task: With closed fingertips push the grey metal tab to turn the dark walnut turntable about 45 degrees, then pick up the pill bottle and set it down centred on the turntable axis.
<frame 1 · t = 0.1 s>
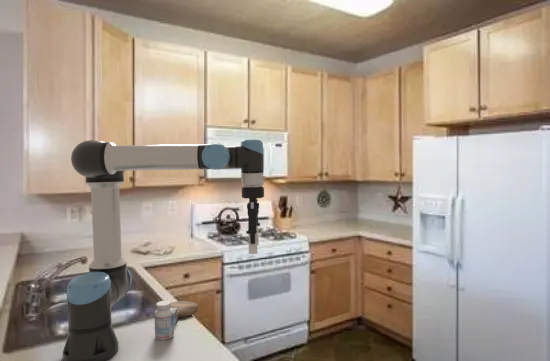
hand: (254, 249, 128), 28 cm above the worktop, fingers open, 13 cm apart
pill bottle: (164, 336, 126), on the worktop
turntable: (177, 308, 144), point 2 cm above the worktop, hinge at 0.0°
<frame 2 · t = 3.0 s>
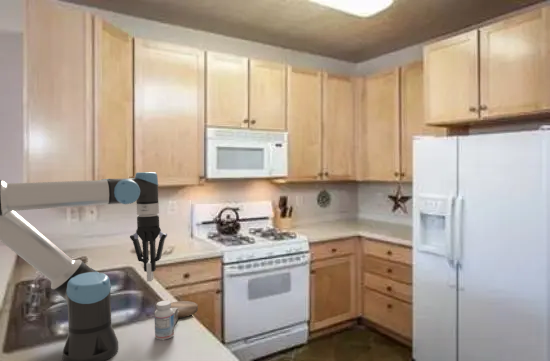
hand: (150, 280, 137), 15 cm above the worktop, fingers closed
nothing on the worktop moved.
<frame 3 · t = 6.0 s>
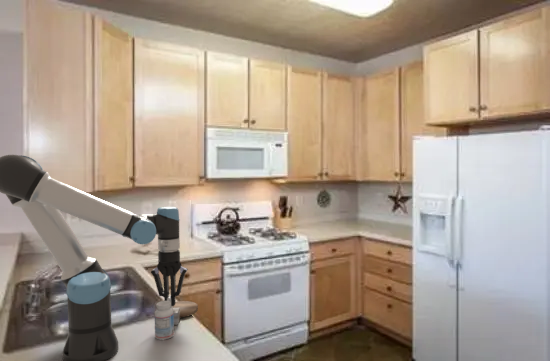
hand: (170, 314, 137), 3 cm above the worktop, fingers closed
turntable: (178, 308, 144), point 2 cm above the worktop, hinge at 5.6°, touching gripper
everything else where it was.
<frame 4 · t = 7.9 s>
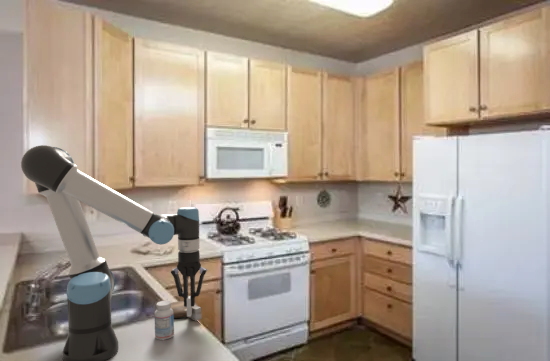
hand: (189, 315, 137), 2 cm above the worktop, fingers closed
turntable: (183, 307, 145), point 2 cm above the worktop, hinge at 46.0°, touching gripper
everything else where it was.
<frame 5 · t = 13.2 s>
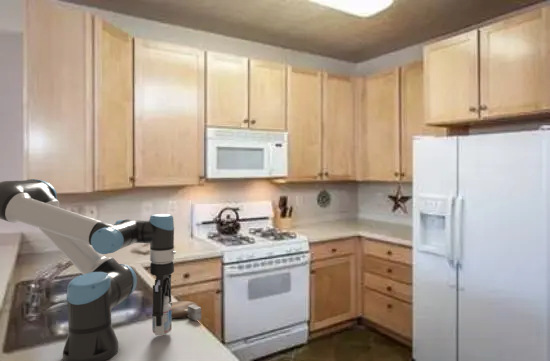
hand: (162, 330, 126), 2 cm above the worktop, fingers closed on pill bottle, 6 cm apart
pill bottle: (162, 331, 126), point 1 cm above the worktop, touching gripper
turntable: (183, 307, 145), point 2 cm above the worktop, hinge at 46.1°
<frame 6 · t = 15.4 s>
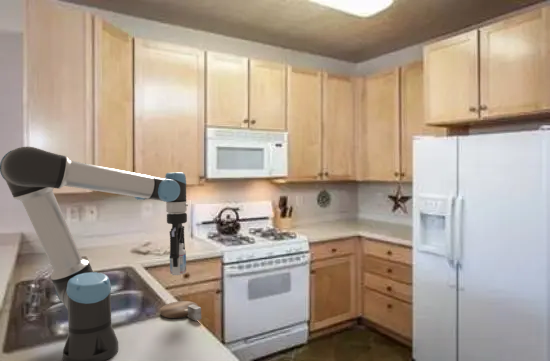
hand: (178, 272, 146), 16 cm above the worktop, fingers closed on pill bottle, 6 cm apart
pill bottle: (178, 273, 146), point 15 cm above the worktop, touching gripper
everything else where it was.
when the fingers open (4 cm above the worktop, at t = 17.8 s): pill bottle drops 1 cm, resting on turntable.
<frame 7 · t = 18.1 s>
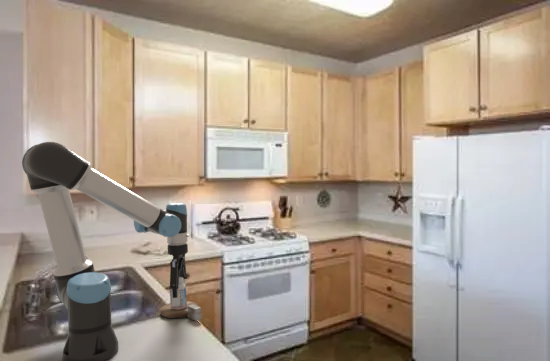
hand: (179, 300, 147), 4 cm above the worktop, fingers open, 10 cm apart
pill bottle: (178, 307, 147), point 2 cm above the worktop, touching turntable
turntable: (183, 307, 145), point 2 cm above the worktop, hinge at 46.1°, touching pill bottle
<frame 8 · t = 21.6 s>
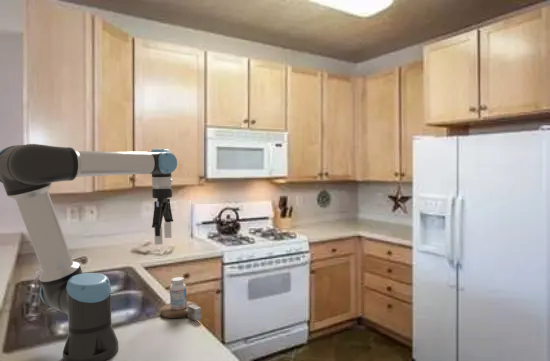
hand: (163, 240, 152), 27 cm above the worktop, fingers open, 13 cm apart
nothing on the worktop moved.
at the end: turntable at +46° (first picture: +0°); pill bottle 0.2 cm from the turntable (horizontally); pill bottle tilted 1° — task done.
